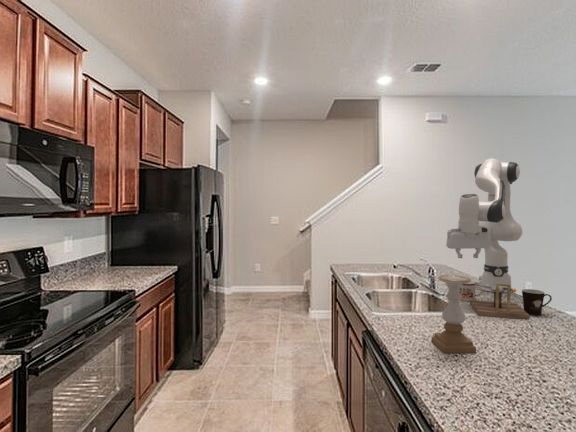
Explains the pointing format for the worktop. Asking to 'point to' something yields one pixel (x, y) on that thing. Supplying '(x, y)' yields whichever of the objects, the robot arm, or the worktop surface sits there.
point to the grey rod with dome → (493, 287)
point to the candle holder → (453, 319)
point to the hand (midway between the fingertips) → (467, 258)
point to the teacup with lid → (469, 291)
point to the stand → (499, 306)
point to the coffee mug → (533, 301)
